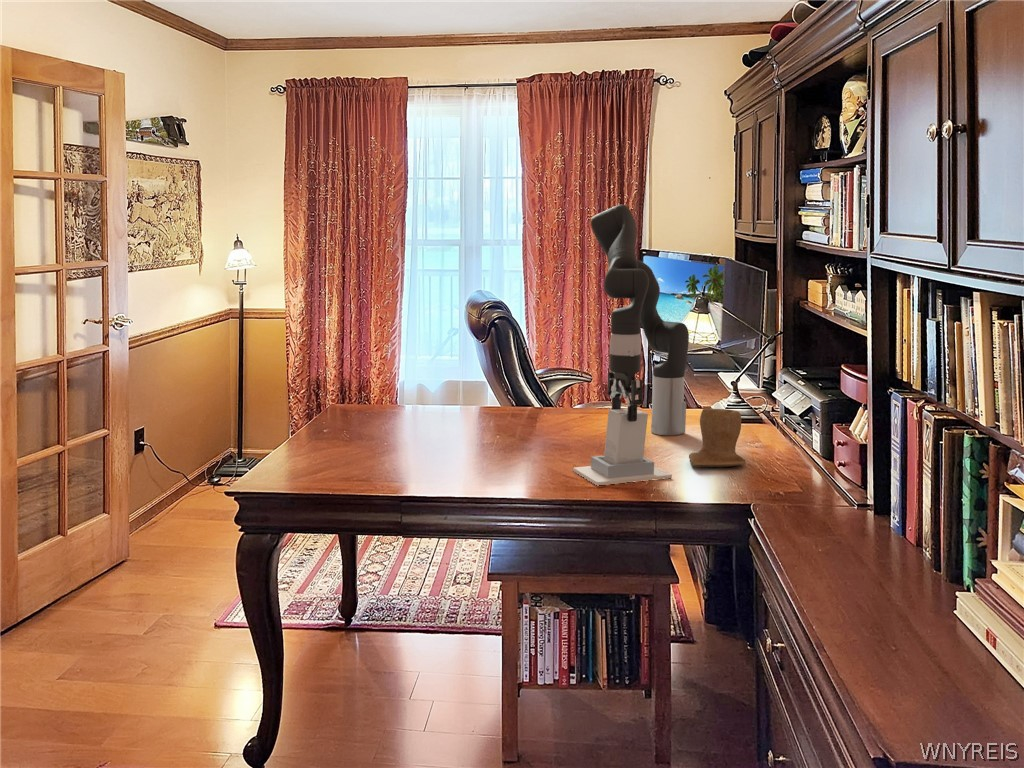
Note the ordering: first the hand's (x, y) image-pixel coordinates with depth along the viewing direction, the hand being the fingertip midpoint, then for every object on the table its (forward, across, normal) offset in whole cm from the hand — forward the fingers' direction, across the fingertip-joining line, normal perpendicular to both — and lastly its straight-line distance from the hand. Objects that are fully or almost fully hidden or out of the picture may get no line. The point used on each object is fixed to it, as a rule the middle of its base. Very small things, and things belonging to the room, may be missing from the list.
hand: (624, 417), depth 218 cm
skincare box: (+13, 0, 0) cm, 13 cm away
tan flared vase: (+15, -1, +27) cm, 31 cm away
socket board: (+14, 0, 0) cm, 15 cm away
